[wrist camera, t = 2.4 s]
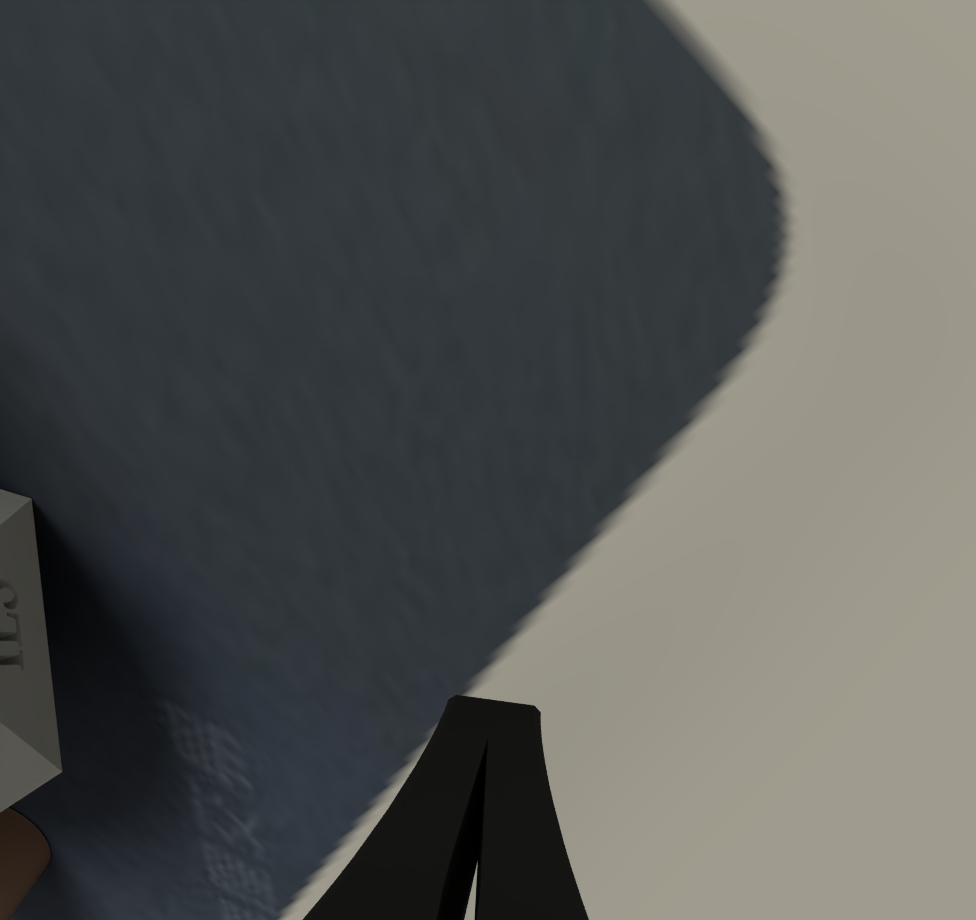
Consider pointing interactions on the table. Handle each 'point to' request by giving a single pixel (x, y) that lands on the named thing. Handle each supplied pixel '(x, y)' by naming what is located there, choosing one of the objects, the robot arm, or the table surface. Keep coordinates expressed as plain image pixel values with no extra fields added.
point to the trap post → (19, 859)
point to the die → (23, 660)
